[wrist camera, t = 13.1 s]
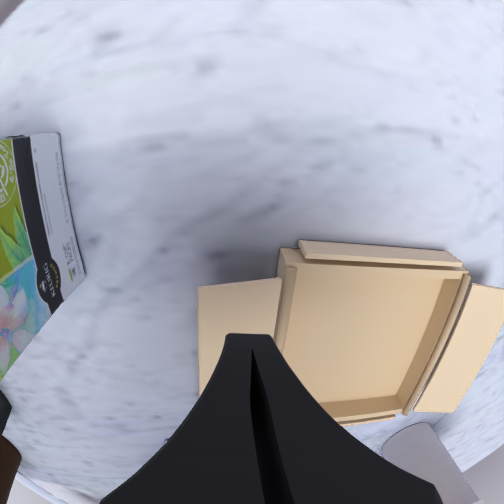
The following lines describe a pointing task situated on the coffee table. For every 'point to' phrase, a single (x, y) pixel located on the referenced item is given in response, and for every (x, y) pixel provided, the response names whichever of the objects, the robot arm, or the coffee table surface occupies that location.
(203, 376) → the flap near
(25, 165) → the tea box
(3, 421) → the green animal figurine
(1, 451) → the olive oil
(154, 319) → the coffee table surface
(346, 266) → the carton
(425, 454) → the coffee cup
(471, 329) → the flap far
